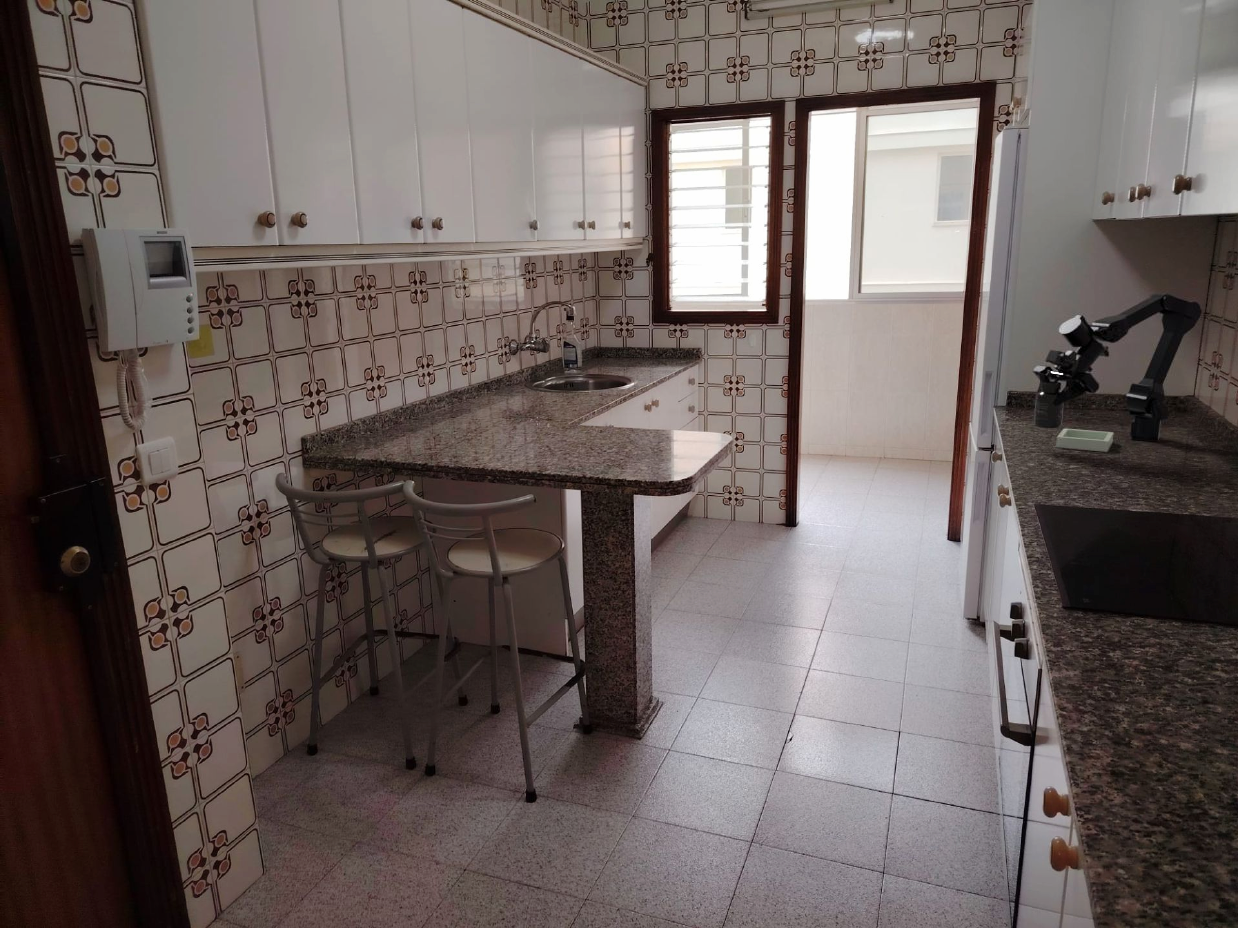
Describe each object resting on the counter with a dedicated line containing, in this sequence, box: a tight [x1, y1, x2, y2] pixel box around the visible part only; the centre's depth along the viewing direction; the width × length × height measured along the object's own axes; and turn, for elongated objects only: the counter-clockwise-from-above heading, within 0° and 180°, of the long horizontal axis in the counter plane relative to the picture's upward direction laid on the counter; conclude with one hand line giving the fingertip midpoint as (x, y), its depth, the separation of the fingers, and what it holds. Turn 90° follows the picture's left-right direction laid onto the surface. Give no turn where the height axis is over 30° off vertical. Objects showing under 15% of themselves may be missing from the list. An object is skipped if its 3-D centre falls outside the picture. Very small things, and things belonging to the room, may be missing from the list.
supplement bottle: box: [1033, 381, 1065, 429], centre depth 229 cm, size 7×7×12 cm
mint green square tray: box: [1055, 427, 1114, 453], centre depth 235 cm, size 12×12×3 cm
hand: (1044, 402), depth 228 cm, fingers closed on supplement bottle, 7 cm apart
